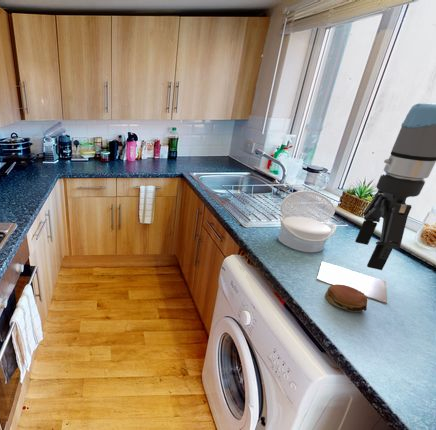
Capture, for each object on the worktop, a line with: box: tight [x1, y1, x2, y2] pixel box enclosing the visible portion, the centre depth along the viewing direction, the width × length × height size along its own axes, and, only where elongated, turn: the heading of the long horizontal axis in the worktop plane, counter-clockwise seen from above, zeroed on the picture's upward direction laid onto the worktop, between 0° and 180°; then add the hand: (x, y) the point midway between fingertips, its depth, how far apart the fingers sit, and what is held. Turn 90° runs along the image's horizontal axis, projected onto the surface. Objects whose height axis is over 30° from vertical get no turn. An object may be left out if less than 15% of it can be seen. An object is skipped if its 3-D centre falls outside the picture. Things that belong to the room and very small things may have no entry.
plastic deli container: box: [277, 190, 338, 253], centre depth 116 cm, size 20×20×20 cm
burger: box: [324, 284, 368, 313], centre depth 85 cm, size 10×9×5 cm
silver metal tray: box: [316, 260, 388, 305], centre depth 96 cm, size 18×14×1 cm
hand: (367, 254), depth 74 cm, fingers open, 13 cm apart
